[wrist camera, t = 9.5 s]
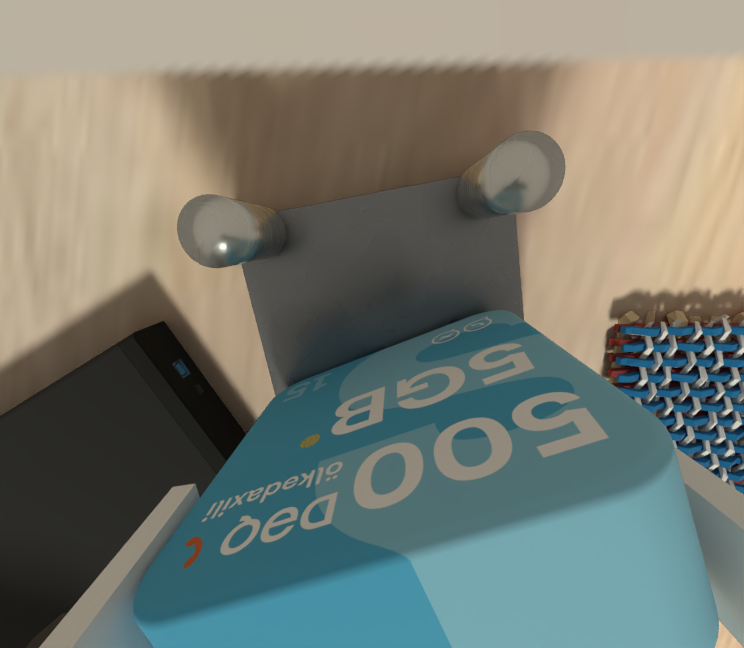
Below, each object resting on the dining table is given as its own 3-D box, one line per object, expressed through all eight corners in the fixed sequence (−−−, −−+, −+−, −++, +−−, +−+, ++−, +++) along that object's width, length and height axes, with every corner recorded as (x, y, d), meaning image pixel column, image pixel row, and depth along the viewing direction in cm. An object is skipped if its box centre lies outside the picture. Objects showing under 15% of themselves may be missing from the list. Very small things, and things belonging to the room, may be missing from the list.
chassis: (320, 542, 22) (298, 650, 17) (236, 213, 18) (165, 202, 12) (534, 515, 21) (590, 620, 16) (503, 161, 17) (566, 123, 11)
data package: (502, 302, 17) (728, 458, 5) (531, 385, 18) (775, 669, 6) (278, 387, 19) (90, 638, 7) (314, 458, 20) (198, 781, 8)
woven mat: (764, 481, 21) (803, 506, 19) (579, 480, 21) (599, 505, 20) (814, 305, 19) (865, 313, 17) (603, 307, 19) (629, 315, 17)
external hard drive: (-118, 495, 23) (-190, 533, 20) (168, 318, 20) (131, 333, 17) (35, 646, 26) (-9, 698, 23) (309, 513, 22) (298, 555, 19)
